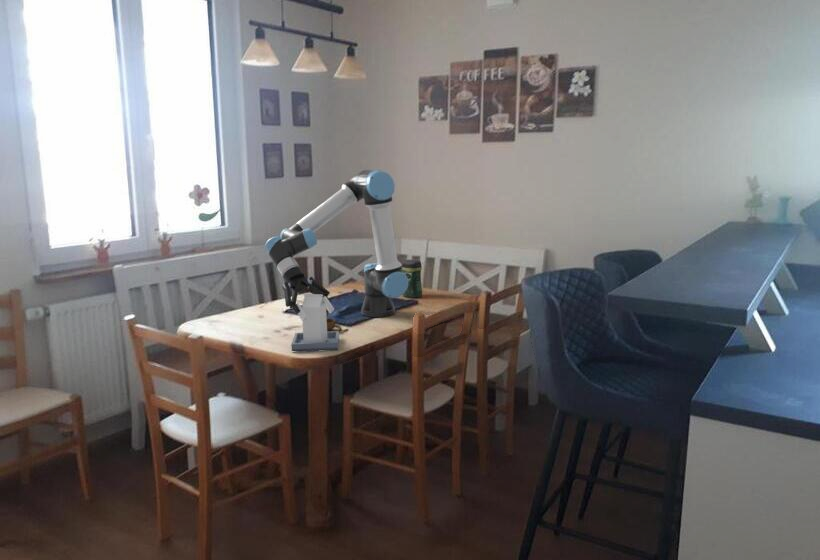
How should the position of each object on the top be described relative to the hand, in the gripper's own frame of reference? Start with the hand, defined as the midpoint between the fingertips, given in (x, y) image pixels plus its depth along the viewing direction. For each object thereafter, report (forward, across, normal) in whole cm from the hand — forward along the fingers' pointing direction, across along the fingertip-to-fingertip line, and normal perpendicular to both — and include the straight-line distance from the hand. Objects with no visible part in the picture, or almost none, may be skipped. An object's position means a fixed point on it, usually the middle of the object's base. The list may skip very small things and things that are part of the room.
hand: (318, 315), depth 243 cm
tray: (+7, 0, -10) cm, 12 cm away
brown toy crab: (-2, -20, -20) cm, 28 cm away
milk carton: (+6, 0, -10) cm, 12 cm away
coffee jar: (-9, -84, -27) cm, 89 cm away
